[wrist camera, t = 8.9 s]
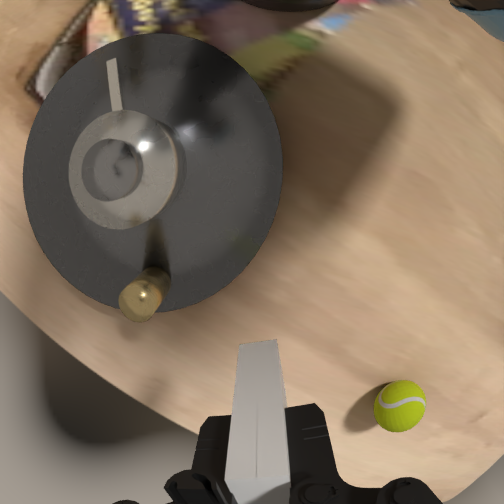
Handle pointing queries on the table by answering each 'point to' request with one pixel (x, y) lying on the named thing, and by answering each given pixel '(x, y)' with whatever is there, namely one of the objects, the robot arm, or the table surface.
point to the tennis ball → (399, 406)
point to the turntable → (196, 183)
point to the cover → (126, 169)
